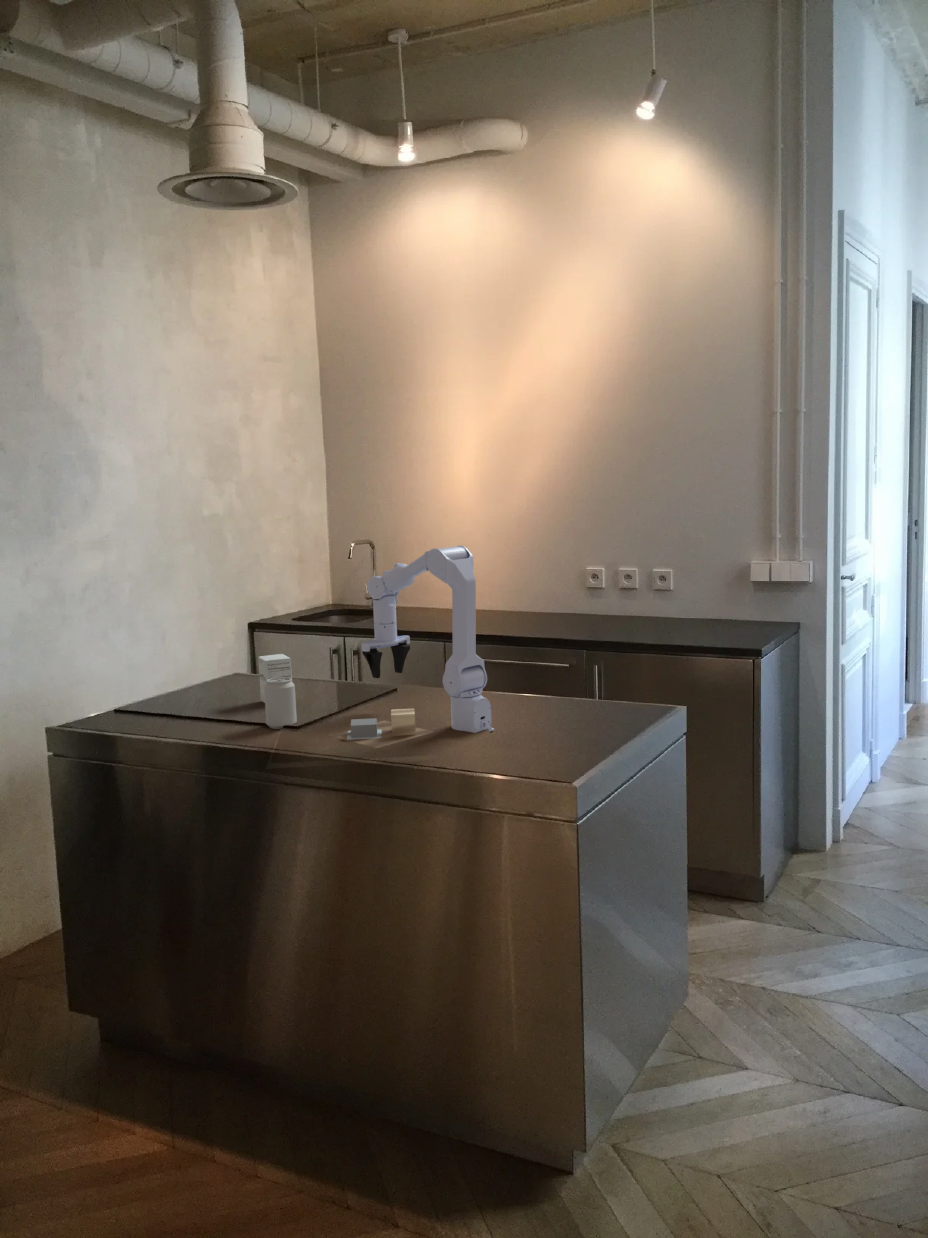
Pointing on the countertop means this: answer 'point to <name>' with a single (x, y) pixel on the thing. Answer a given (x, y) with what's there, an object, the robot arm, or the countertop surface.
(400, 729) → the maple cube
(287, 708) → the can
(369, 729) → the grey base block
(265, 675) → the supplement box
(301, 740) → the countertop surface
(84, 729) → the countertop surface
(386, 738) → the board
